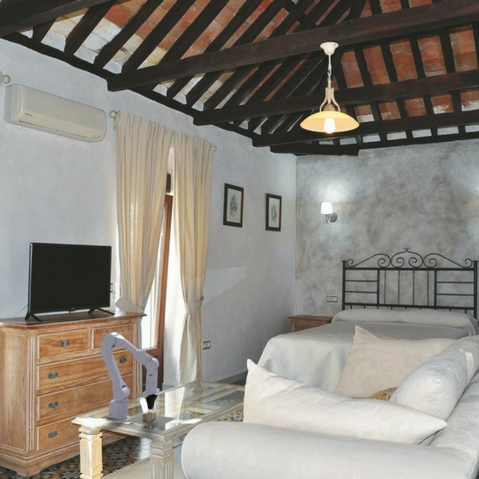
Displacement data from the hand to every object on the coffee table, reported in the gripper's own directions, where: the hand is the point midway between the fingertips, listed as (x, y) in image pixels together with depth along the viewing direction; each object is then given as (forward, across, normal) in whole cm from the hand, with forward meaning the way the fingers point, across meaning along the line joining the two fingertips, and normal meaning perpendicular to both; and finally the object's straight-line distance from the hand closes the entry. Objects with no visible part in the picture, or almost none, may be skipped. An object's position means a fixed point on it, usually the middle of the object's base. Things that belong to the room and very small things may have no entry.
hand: (150, 409), depth 292 cm
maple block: (+3, +3, 0) cm, 4 cm away
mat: (+5, -1, -1) cm, 6 cm away
